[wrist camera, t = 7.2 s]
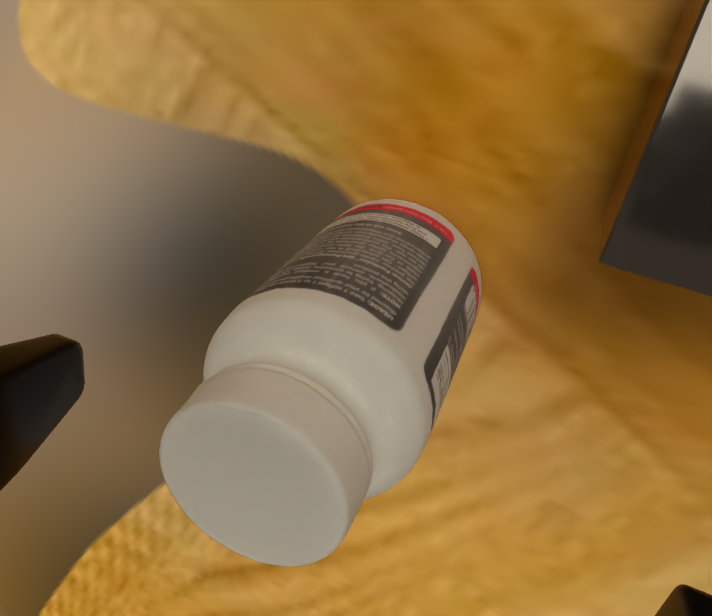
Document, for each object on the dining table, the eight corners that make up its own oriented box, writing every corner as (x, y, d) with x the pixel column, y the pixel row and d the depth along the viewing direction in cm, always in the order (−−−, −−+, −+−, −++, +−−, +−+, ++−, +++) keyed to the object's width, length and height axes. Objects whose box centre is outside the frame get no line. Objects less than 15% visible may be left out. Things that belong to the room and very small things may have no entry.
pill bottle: (288, 255, 21) (80, 436, 13) (409, 158, 18) (239, 313, 10) (390, 377, 22) (255, 620, 14) (521, 303, 19) (448, 556, 11)
